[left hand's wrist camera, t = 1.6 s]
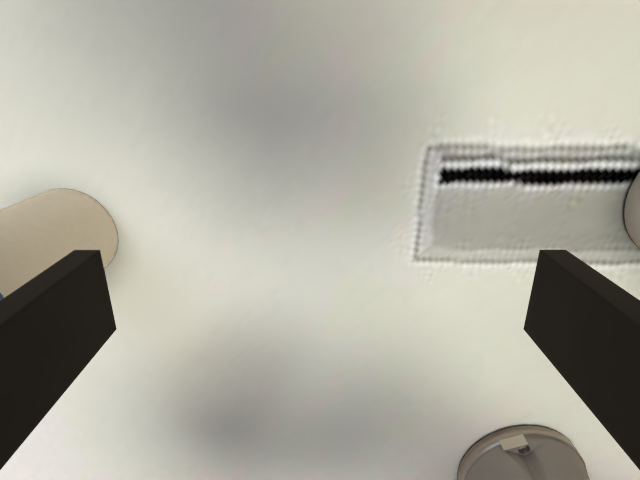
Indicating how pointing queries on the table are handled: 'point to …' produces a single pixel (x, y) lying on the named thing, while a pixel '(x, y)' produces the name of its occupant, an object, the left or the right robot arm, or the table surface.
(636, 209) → the bust sculpture
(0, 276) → the jar
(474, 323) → the table surface
